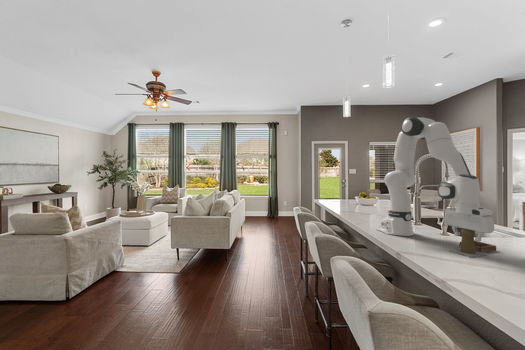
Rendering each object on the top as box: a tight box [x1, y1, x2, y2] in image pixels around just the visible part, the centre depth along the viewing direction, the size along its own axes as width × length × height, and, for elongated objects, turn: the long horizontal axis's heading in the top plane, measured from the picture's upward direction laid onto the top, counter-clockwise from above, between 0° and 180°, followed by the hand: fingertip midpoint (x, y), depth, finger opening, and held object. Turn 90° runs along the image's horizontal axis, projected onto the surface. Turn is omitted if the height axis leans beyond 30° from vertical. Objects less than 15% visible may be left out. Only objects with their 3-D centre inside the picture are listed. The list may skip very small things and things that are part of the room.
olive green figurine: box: [459, 228, 476, 254], centre depth 120 cm, size 6×6×11 cm
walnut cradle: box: [459, 240, 497, 254], centre depth 126 cm, size 10×10×2 cm
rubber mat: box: [448, 247, 488, 258], centre depth 120 cm, size 10×10×1 cm
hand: (467, 238), depth 120 cm, fingers open, 8 cm apart
